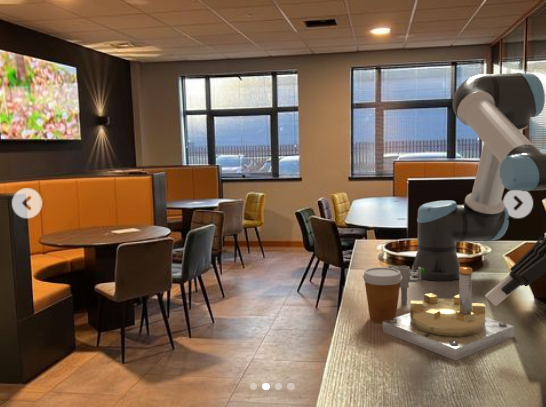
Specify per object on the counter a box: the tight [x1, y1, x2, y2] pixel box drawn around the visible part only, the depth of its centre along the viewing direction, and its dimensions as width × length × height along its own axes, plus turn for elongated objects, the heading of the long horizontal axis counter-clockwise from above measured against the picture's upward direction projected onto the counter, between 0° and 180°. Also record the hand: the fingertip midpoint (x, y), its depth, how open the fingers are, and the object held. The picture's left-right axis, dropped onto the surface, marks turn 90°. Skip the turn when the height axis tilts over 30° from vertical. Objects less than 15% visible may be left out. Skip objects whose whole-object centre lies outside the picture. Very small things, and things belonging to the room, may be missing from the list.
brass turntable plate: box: [409, 266, 486, 336], centre depth 117 cm, size 16×16×14 cm
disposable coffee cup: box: [362, 266, 402, 324], centre depth 128 cm, size 10×10×12 cm
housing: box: [382, 312, 515, 362], centre depth 118 cm, size 20×20×3 cm
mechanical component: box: [384, 265, 424, 305], centre depth 140 cm, size 3×10×10 cm, turn 79°
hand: (490, 300), depth 109 cm, fingers closed
